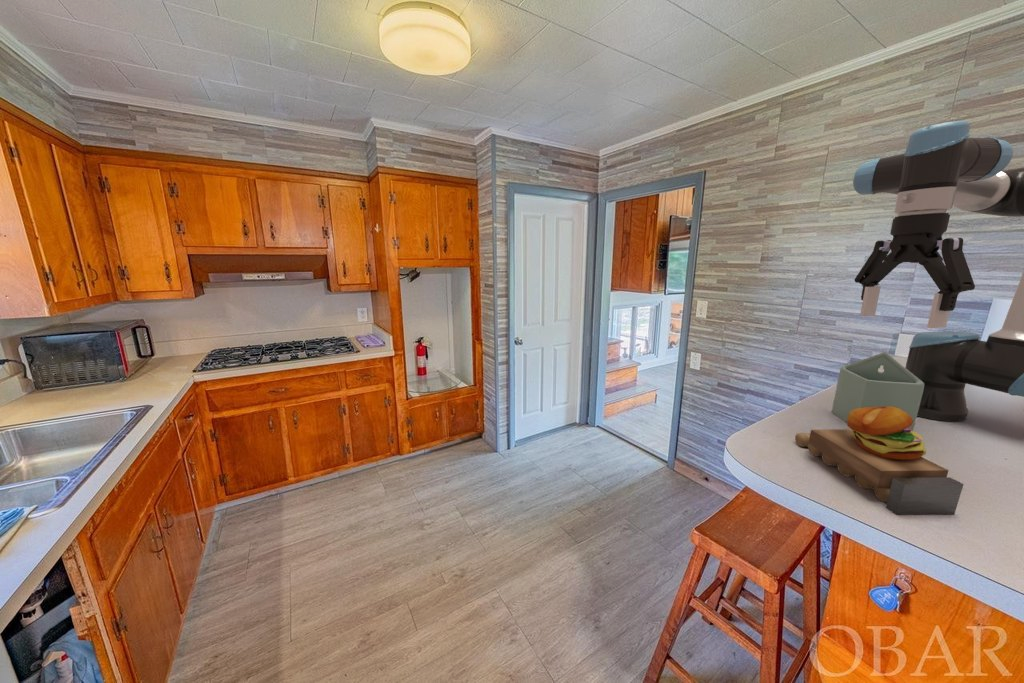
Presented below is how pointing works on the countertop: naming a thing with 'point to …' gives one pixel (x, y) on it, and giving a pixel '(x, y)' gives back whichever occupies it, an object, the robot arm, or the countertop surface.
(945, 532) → the countertop surface
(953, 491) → the stop rail
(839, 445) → the board
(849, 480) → the countertop surface
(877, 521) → the countertop surface
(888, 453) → the cheeseburger
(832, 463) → the cylinder
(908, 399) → the planter
